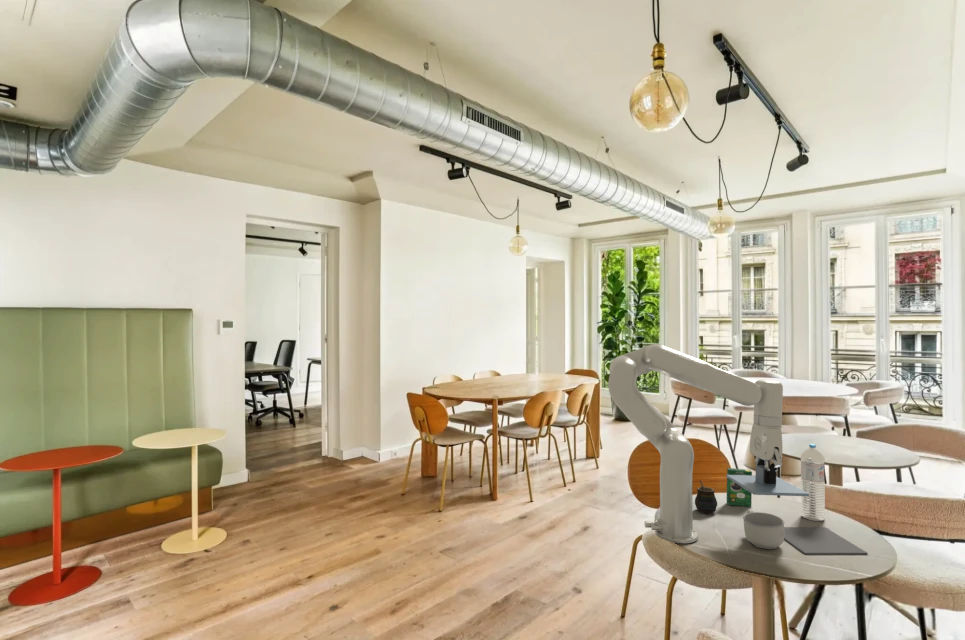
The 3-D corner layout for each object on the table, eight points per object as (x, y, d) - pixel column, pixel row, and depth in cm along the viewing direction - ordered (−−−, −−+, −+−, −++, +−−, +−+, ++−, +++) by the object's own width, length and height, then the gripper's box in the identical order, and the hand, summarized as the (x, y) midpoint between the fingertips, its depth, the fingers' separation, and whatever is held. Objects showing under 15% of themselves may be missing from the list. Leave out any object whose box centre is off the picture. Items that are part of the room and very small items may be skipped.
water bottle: (814, 522, 167) (813, 447, 167) (796, 515, 173) (795, 443, 173) (829, 520, 168) (829, 446, 169) (811, 513, 175) (811, 441, 175)
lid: (753, 494, 144) (754, 474, 144) (726, 477, 160) (726, 459, 160) (809, 496, 144) (809, 476, 144) (776, 478, 160) (776, 460, 160)
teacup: (790, 554, 144) (790, 526, 144) (749, 551, 146) (749, 523, 146) (772, 534, 158) (772, 509, 158) (735, 531, 160) (735, 506, 160)
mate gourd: (703, 516, 172) (703, 487, 172) (689, 508, 180) (689, 480, 180) (721, 514, 174) (721, 485, 174) (707, 506, 181) (706, 479, 182)
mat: (804, 554, 144) (804, 552, 144) (769, 528, 162) (769, 527, 162) (867, 554, 144) (867, 552, 144) (824, 528, 162) (824, 527, 162)
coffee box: (750, 504, 183) (750, 468, 183) (752, 507, 180) (752, 471, 180) (726, 502, 185) (726, 467, 185) (728, 505, 183) (727, 469, 183)
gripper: (740, 415, 161) (738, 472, 161) (771, 426, 144) (769, 490, 144) (764, 416, 161) (762, 473, 161) (797, 427, 144) (795, 491, 144)
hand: (765, 480), depth 152 cm, fingers closed on lid, 4 cm apart
